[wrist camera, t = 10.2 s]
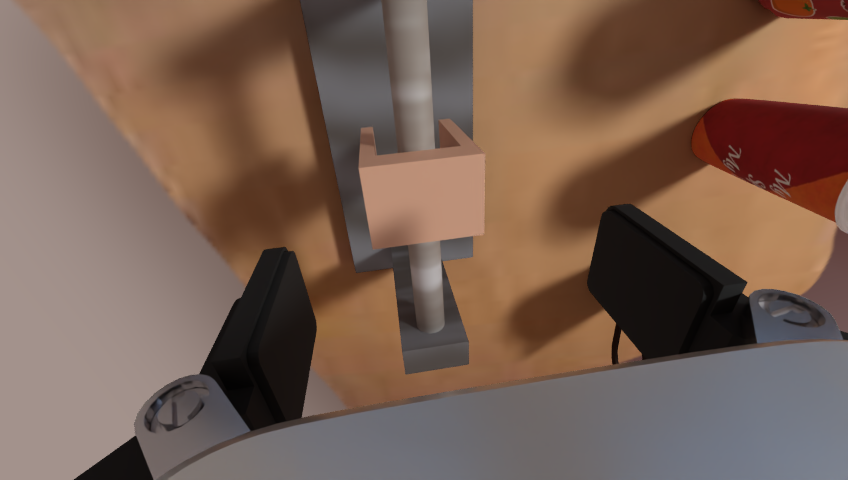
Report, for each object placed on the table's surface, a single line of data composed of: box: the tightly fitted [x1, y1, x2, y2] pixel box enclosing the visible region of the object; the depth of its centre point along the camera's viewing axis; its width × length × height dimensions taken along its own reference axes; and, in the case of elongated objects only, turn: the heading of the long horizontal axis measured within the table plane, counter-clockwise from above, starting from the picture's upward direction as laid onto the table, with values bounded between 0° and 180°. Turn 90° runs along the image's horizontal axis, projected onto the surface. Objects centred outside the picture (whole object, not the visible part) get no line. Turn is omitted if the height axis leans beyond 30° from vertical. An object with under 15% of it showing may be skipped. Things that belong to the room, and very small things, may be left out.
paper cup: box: [691, 99, 848, 233], centre depth 26 cm, size 8×8×14 cm
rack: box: [300, 0, 473, 374], centre depth 22 cm, size 24×11×14 cm, turn 4°
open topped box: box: [359, 119, 485, 250], centre depth 19 cm, size 4×5×8 cm
